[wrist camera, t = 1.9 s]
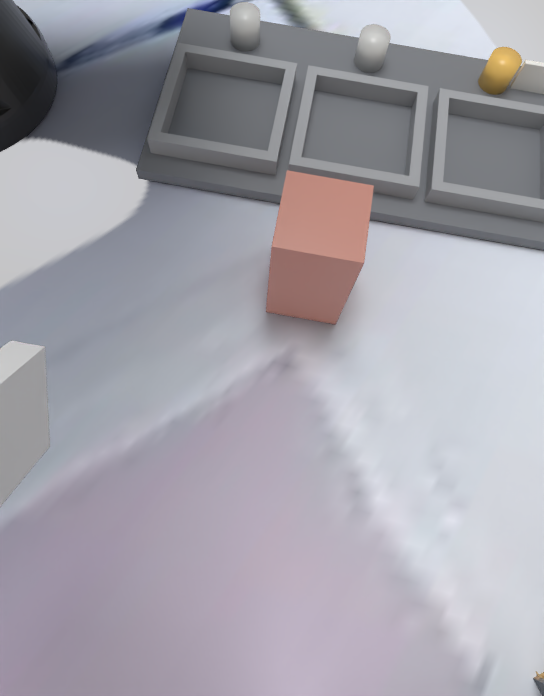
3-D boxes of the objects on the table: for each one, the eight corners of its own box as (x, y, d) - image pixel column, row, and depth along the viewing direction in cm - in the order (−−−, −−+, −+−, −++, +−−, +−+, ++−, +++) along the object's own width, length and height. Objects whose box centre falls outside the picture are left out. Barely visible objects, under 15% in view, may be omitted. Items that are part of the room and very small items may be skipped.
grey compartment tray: (138, 178, 38) (128, 147, 35) (188, 19, 43) (184, -21, 40) (552, 251, 38) (580, 227, 34) (550, 81, 43) (574, 47, 40)
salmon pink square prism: (265, 311, 35) (271, 246, 26) (277, 250, 37) (286, 170, 28) (335, 324, 35) (363, 262, 26) (344, 262, 36) (373, 185, 28)
